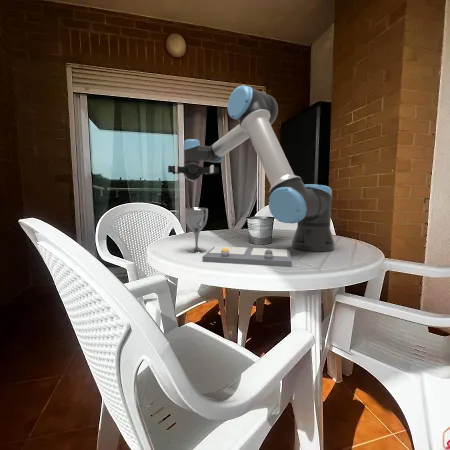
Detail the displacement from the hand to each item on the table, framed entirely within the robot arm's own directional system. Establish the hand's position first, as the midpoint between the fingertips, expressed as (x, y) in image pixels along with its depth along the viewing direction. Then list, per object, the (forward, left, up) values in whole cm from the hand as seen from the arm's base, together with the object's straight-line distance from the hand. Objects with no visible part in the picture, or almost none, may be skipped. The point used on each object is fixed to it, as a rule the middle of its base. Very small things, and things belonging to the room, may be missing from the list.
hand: (194, 168), depth 101 cm
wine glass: (-3, +9, -30) cm, 31 cm away
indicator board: (-22, +15, -29) cm, 40 cm away
